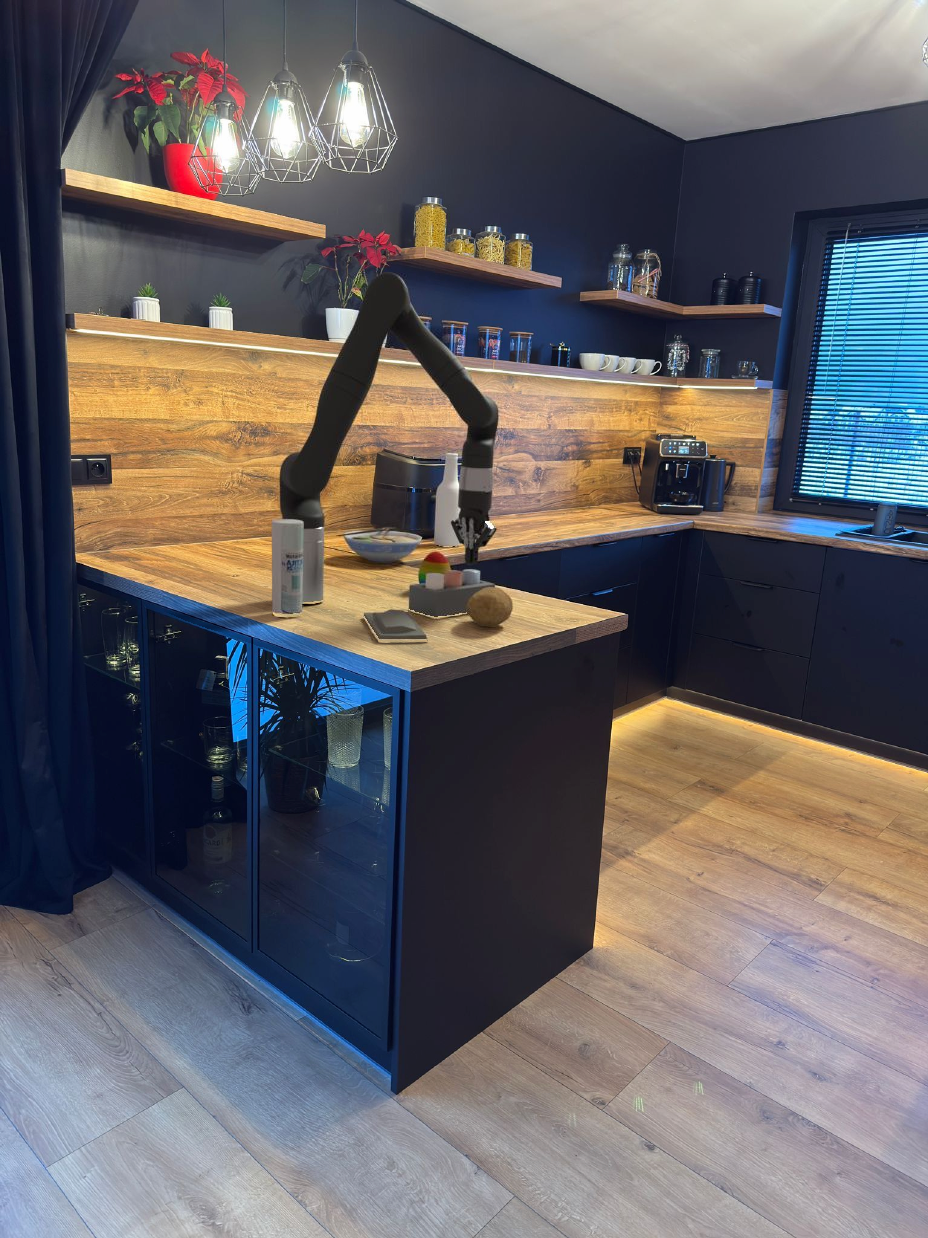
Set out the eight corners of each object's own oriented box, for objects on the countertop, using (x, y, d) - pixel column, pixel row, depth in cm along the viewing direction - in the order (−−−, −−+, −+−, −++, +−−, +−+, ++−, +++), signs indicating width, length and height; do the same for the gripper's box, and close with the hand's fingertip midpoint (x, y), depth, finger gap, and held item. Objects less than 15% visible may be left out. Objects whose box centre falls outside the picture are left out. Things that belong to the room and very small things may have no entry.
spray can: (289, 610, 191) (289, 518, 186) (309, 615, 187) (310, 521, 182) (265, 614, 186) (265, 520, 181) (284, 620, 182) (285, 524, 178)
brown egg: (452, 600, 196) (453, 574, 194) (439, 597, 198) (441, 571, 197) (464, 598, 198) (466, 572, 197) (452, 595, 201) (454, 569, 200)
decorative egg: (421, 595, 213) (423, 554, 211) (414, 588, 221) (416, 548, 219) (454, 594, 215) (456, 554, 213) (445, 588, 223) (447, 549, 221)
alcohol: (430, 546, 287) (434, 452, 280) (438, 542, 296) (443, 451, 289) (456, 548, 285) (460, 454, 278) (463, 545, 293) (468, 453, 286)
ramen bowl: (382, 572, 239) (382, 542, 237) (323, 559, 253) (323, 531, 251) (439, 562, 259) (440, 534, 257) (381, 551, 272) (382, 525, 270)
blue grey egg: (469, 599, 199) (471, 573, 198) (457, 595, 202) (459, 570, 201) (482, 597, 202) (483, 571, 201) (470, 594, 205) (471, 568, 203)
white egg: (433, 604, 192) (434, 577, 190) (421, 600, 194) (422, 574, 193) (446, 602, 194) (448, 575, 193) (434, 598, 197) (435, 572, 196)
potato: (513, 619, 194) (515, 583, 192) (509, 635, 180) (511, 597, 178) (469, 616, 195) (471, 580, 193) (462, 631, 181) (464, 593, 179)
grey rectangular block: (435, 619, 190) (437, 592, 188) (408, 611, 196) (409, 584, 194) (493, 609, 202) (495, 584, 201) (466, 602, 208) (467, 577, 207)
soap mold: (410, 620, 190) (410, 604, 189) (428, 645, 171) (429, 628, 170) (362, 621, 188) (363, 605, 187) (376, 646, 169) (376, 628, 168)
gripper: (443, 485, 198) (439, 560, 202) (484, 491, 189) (479, 570, 193) (467, 484, 203) (462, 558, 207) (508, 490, 194) (503, 567, 198)
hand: (471, 564), depth 200 cm, fingers closed
